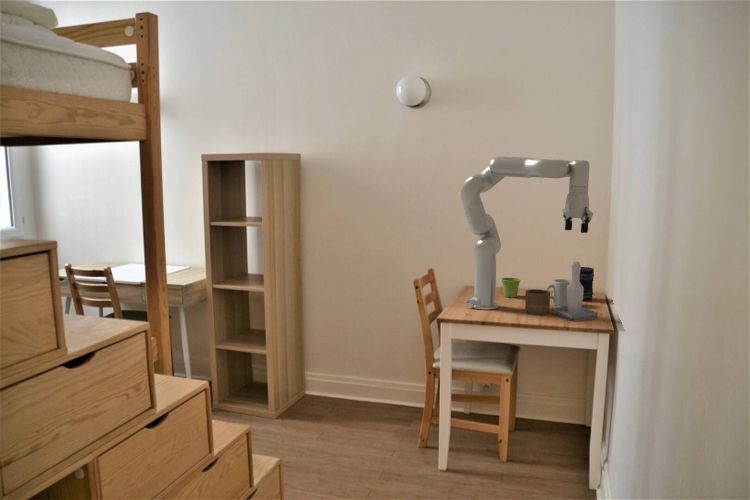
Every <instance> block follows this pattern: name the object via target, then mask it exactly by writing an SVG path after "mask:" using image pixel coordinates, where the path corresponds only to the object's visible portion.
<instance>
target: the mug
mask: <svg viewBox="0 0 750 500" xmlns="http://www.w3.org/2000/svg"><path fill="white" fill-rule="evenodd" d="M571 281H572V279H571V280H570V279H562V278H561V279H560V278H559V279H554V280H553V283H550V284H548V285H547V286H546V287H545V288H546V289H545V290H546V291H549V289H550V288H552V295H550V300H552V305H553V306H556V307H567V286H568V285H569V284H570V283H571Z"/></svg>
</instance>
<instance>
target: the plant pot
mask: <svg viewBox="0 0 750 500" xmlns="http://www.w3.org/2000/svg"><path fill="white" fill-rule="evenodd" d="M500 280H501V284H502V289H503V296H504V297H505V298H510V299H511V298H517V297H518V291H519V286H520V283H521V280H522V279H521V278H518V277H502V278H500Z"/></svg>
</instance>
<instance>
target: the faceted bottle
mask: <svg viewBox="0 0 750 500" xmlns="http://www.w3.org/2000/svg"><path fill="white" fill-rule="evenodd" d="M581 267H582V266H581V262H580V261H573V262H572V264H571V272H572V273H571V283H570V284H569V285H568V286H567V306H566V307H568V313H569V314H580V311H581V307H583V305H582V304H583V302H582V301H583V290H584V288H583V286H582V285H581V283H580V282H579V279H580V270H581Z"/></svg>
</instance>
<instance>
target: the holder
mask: <svg viewBox="0 0 750 500" xmlns="http://www.w3.org/2000/svg"><path fill="white" fill-rule="evenodd" d="M550 296H551V292H550V291H549V290H548V291H546V289H534V288H533V289H527V290H525V303H524V304H525V305H524V306H525V307H524V312H525V313H526V312H527V313H526V314H528V315H529V314H530V315H534V316H536V315H537V316H545V315H549V314H550V306H551V305H550V303H551V299H550Z"/></svg>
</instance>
